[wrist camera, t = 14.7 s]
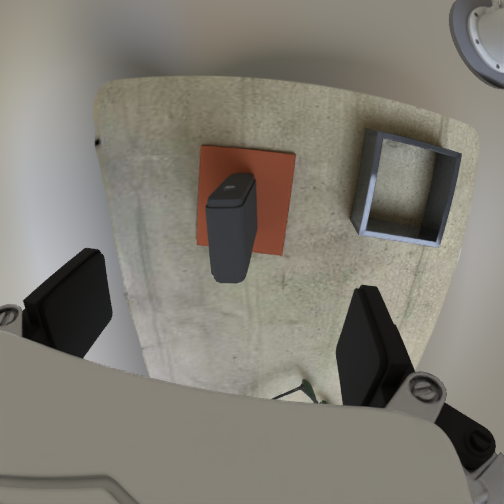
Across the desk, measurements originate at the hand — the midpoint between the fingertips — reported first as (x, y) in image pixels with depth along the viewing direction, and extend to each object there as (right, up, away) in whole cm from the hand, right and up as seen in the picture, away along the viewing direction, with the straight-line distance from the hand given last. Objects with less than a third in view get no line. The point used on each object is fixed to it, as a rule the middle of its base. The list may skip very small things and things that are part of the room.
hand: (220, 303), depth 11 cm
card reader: (0, +9, +33) cm, 34 cm away
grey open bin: (+22, +12, +30) cm, 39 cm away
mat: (0, +9, +34) cm, 35 cm away
